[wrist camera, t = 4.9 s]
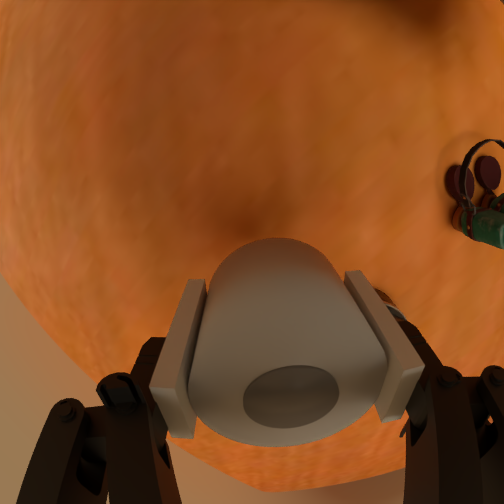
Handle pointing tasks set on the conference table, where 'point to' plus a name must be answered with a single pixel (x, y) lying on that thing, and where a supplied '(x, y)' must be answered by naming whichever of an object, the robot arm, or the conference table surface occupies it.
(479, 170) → the binoculars
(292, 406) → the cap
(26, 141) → the conference table surface
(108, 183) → the conference table surface
